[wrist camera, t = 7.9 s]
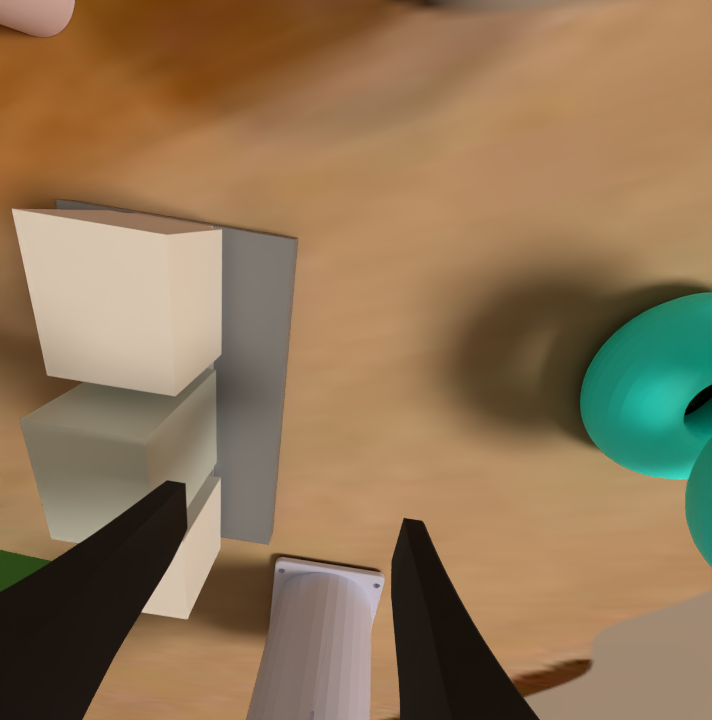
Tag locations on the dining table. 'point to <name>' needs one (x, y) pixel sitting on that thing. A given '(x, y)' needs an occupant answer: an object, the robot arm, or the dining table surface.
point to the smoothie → (36, 16)
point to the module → (117, 450)
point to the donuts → (658, 402)
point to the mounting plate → (248, 371)
